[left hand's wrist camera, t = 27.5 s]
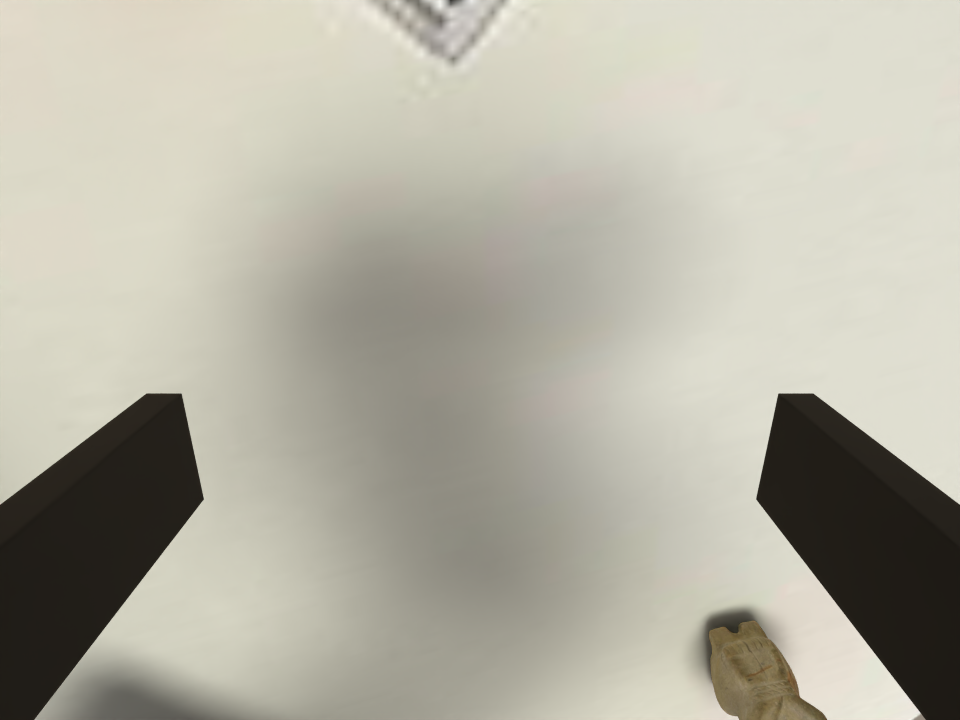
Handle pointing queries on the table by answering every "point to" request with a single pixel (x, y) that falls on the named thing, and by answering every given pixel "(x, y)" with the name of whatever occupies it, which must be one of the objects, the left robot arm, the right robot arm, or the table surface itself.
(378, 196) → the table surface
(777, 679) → the sculpture
